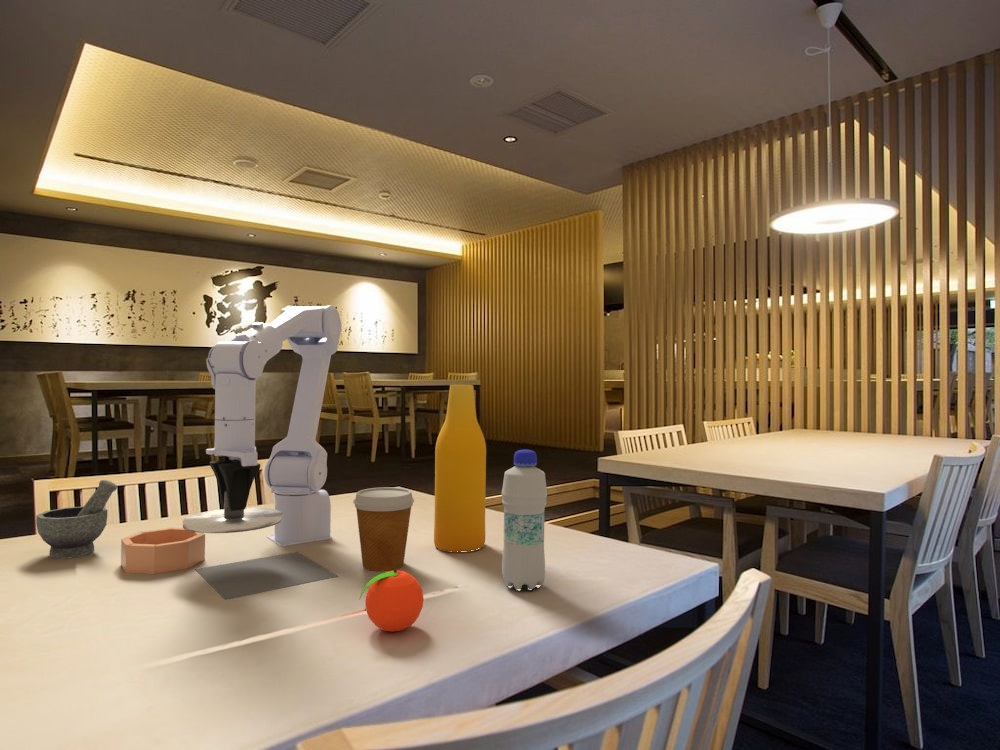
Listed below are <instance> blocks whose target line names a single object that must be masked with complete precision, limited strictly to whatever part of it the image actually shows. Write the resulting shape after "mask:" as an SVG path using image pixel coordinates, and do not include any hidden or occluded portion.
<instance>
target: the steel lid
mask: <svg viewBox="0 0 1000 750" xmlns="http://www.w3.org/2000/svg"><path fill="white" fill-rule="evenodd" d="M281 521H282V512H280V511H278V510H275V508H267V507H246V508H245V509H243V510H235V511H231V510H230V508H229V505H228V498H227V490H226V491H224V506H223V509H222V508H221V509H214V510H207V511H202V512H198V513H195V514H192V515H191V514H190V515H188V516H186V517H185V518H184V519H183V520H182V528H184V529H185V530H188V531H192V532H198V533H204V534H230V533H231V534H233V533H242V532H249V531H257V530H262V529H266V528H269V527H272V526H275V525H276V524H278V523H280V522H281Z"/></svg>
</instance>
